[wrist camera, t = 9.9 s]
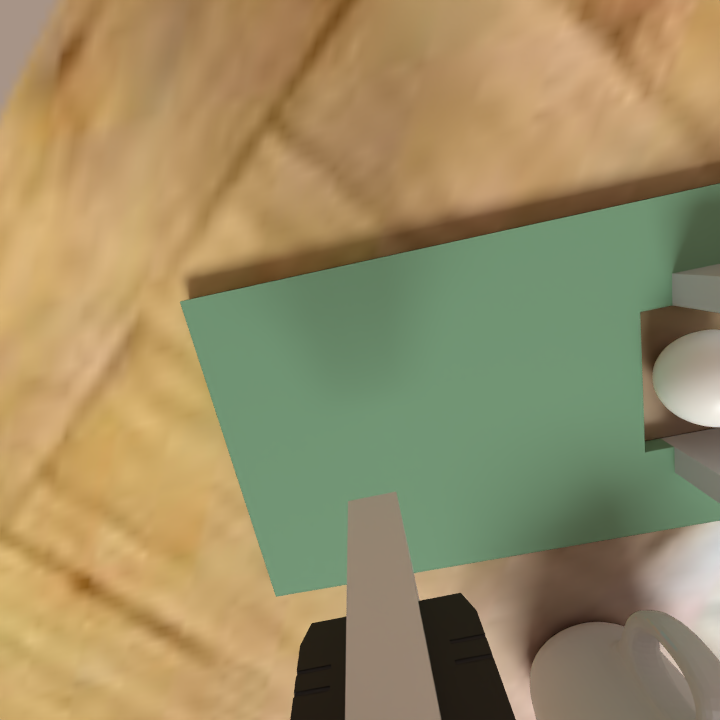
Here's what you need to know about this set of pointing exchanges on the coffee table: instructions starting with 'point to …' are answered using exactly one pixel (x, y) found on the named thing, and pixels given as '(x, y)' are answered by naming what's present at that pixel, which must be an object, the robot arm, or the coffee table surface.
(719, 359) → the ball
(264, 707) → the coffee table surface
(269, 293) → the green mat
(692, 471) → the white u-shaped bracket
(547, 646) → the cup
